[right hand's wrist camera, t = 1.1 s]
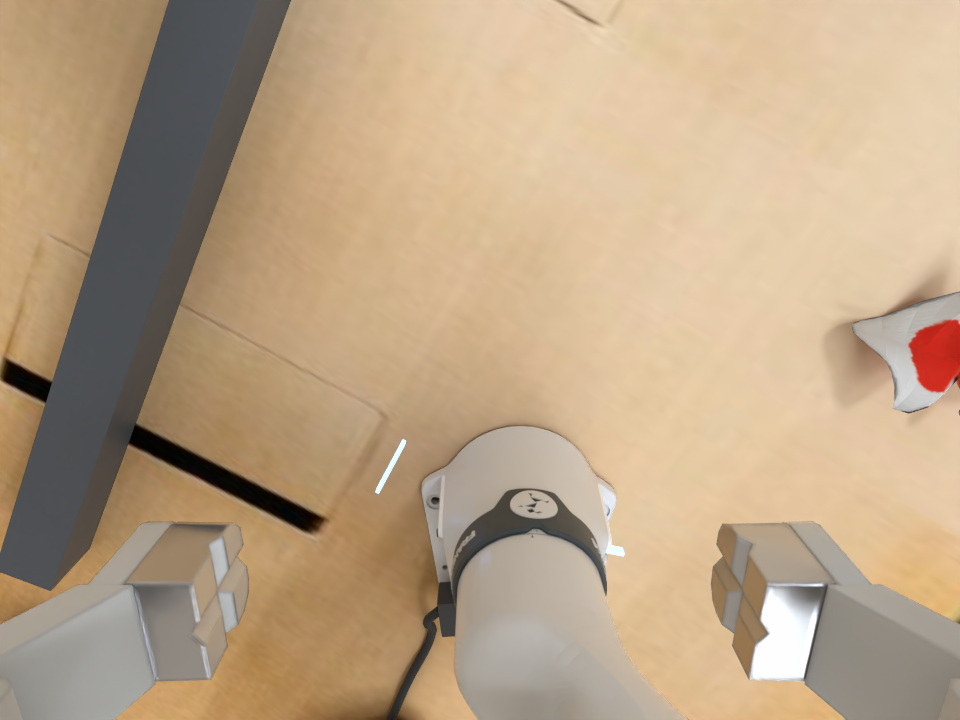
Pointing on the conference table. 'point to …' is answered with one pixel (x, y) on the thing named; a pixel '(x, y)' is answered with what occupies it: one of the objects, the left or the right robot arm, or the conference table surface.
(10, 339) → the conference table surface
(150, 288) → the post
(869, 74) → the conference table surface
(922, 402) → the fish
